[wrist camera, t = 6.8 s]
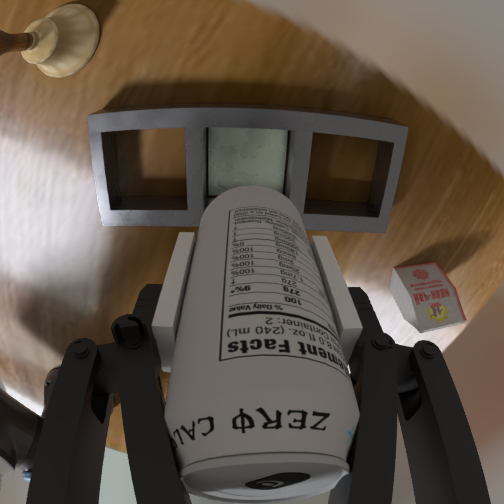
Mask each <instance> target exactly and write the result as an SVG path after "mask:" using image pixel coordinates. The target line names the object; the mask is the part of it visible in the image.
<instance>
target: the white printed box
mask: <svg viewBox="0 0 504 504" xmlns="http://www.w3.org/2000/svg"><path fill="white" fill-rule="evenodd" d="M389 290H390V292H391V294H392V295H393V297H394V299H395V301H396V303H397V305H398V307H399V309H400V311H401V313H402V315H403V317H404V319H405V320H406V321H408V322H409V323H410V324H412V325H413V326H414V327H415V328H416V329H417V330H418V331H419V333H423V332H428V331H432V330H437V329H441V328H445V327H449V326H453V325H457V324H461V323H465V321H466V318H465V315H464V312H463V310H462V307H461V304H460V300H459V297H458V294H457V291H456V288H455V287H454V285H453V284H452V283H451V281H450V280H449V279H448V277H447V276H446V274H445V273H444V272H443V270H442V269H441V268H440V266H439V265H438V264H437V262H431V263H423V264H416V265H409V266H402V267H394V268H393V273H392V278H391V284H390V289H389Z"/></svg>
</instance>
